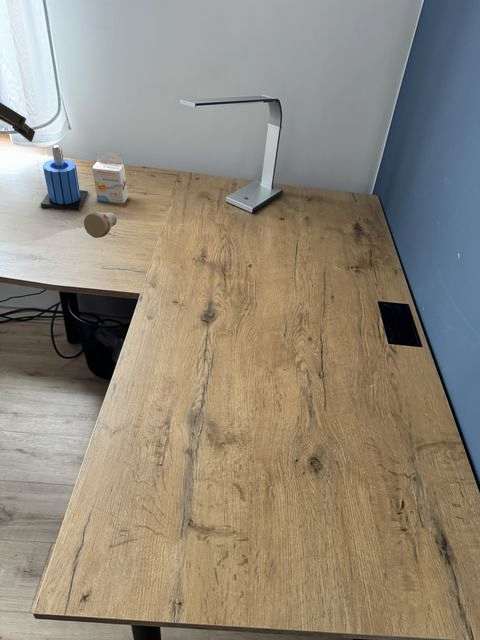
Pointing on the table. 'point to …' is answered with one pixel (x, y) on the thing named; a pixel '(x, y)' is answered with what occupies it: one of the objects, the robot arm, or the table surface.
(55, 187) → the blue ribbed pencil cup
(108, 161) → the ink box
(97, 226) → the mug
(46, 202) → the stand
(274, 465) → the table surface
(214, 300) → the table surface
